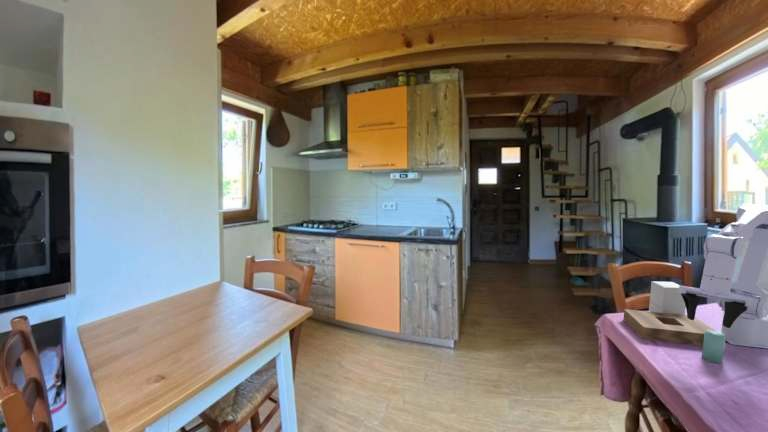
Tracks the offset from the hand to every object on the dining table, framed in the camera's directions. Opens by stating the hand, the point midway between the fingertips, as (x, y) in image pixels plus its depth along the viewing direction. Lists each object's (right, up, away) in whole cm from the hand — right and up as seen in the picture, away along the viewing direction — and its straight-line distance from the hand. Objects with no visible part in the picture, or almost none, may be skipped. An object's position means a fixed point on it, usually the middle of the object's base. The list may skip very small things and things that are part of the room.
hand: (708, 322), depth 86 cm
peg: (+1, -11, 0) cm, 11 cm away
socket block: (+3, -9, +15) cm, 17 cm away
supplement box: (+13, -7, +27) cm, 30 cm away
